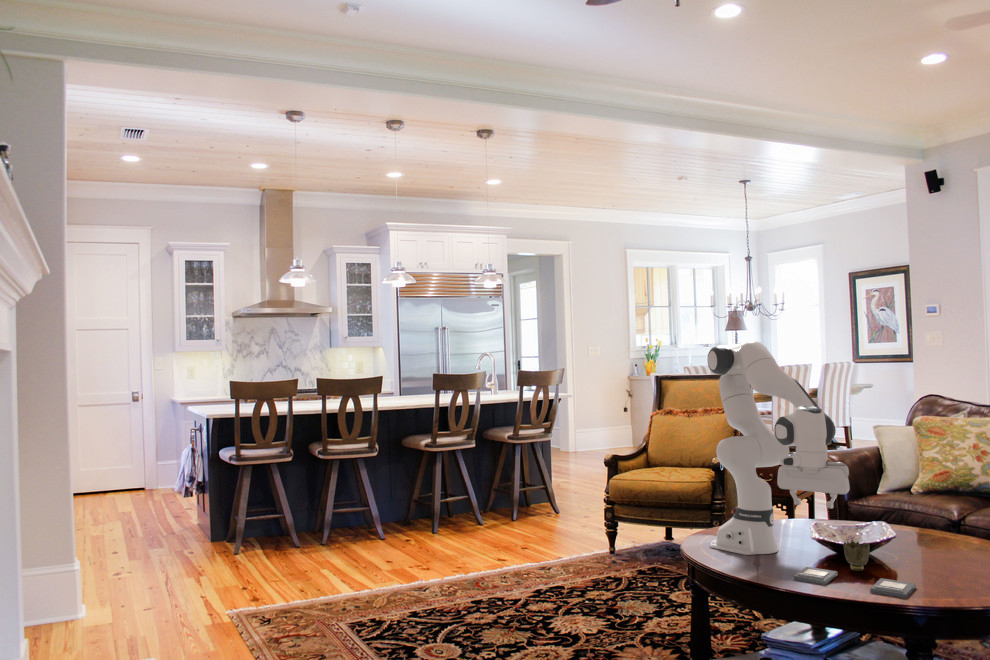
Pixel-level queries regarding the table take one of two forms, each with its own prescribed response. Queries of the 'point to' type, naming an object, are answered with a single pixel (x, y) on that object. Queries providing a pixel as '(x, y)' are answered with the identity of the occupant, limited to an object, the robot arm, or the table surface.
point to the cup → (856, 554)
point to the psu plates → (879, 587)
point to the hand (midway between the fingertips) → (813, 506)
